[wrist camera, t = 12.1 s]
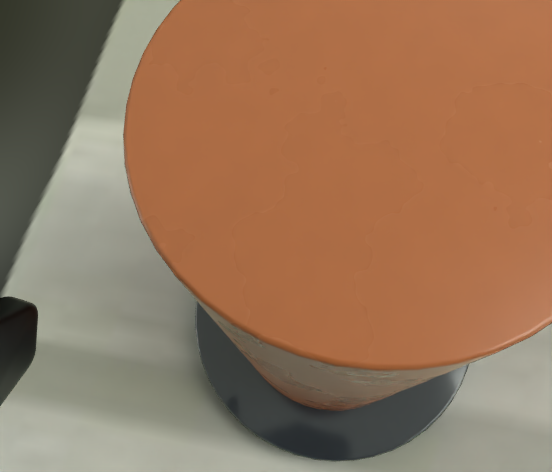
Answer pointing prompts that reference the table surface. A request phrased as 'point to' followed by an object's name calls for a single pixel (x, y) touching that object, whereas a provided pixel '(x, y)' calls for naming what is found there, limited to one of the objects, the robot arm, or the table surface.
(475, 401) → the table surface
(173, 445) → the table surface
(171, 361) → the table surface
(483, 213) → the copper pot
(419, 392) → the charcoal plate
